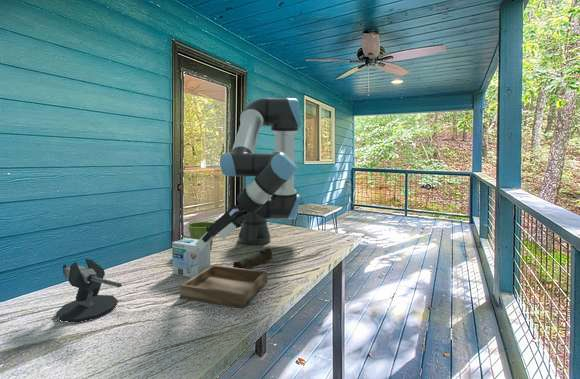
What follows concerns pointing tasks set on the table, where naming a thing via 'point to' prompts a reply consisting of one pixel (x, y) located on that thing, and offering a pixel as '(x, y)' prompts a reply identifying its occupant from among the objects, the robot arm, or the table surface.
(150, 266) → the table surface
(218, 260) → the table surface
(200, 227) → the plant pot
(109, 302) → the gun turret
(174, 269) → the light bulb box
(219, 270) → the walnut tray
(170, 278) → the table surface
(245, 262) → the rusty artillery shell
